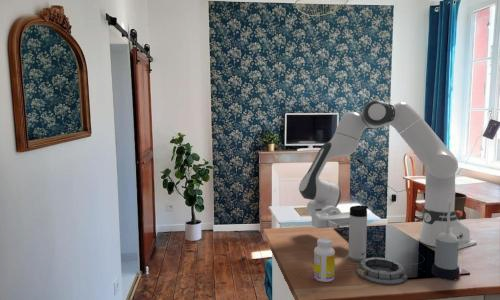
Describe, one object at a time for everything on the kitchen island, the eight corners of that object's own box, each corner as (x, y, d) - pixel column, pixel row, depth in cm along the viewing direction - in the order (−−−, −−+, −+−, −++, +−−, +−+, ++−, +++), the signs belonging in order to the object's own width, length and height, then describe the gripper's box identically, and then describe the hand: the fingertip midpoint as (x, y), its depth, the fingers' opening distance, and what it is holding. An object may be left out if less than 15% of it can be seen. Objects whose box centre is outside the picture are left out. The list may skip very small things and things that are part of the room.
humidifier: (463, 281, 120) (467, 205, 117) (436, 279, 121) (439, 204, 118) (454, 270, 128) (458, 199, 125) (428, 268, 129) (432, 198, 126)
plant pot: (430, 230, 172) (431, 196, 170) (428, 221, 185) (429, 190, 184) (467, 234, 166) (469, 199, 164) (462, 224, 180) (464, 192, 178)
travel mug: (367, 262, 134) (369, 208, 132) (348, 261, 136) (350, 207, 134) (365, 256, 141) (367, 204, 139) (347, 254, 142) (349, 203, 140)
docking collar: (386, 262, 135) (386, 254, 135) (418, 280, 120) (418, 271, 119) (347, 267, 130) (347, 259, 130) (376, 287, 115) (376, 278, 115)
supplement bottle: (335, 275, 124) (336, 238, 123) (333, 284, 118) (334, 244, 116) (315, 272, 126) (316, 236, 125) (312, 281, 120) (312, 242, 118)
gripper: (351, 221, 159) (371, 230, 146) (308, 225, 153) (324, 235, 140) (352, 207, 158) (371, 215, 145) (308, 210, 152) (325, 219, 139)
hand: (348, 225), depth 142 cm, fingers open, 8 cm apart
